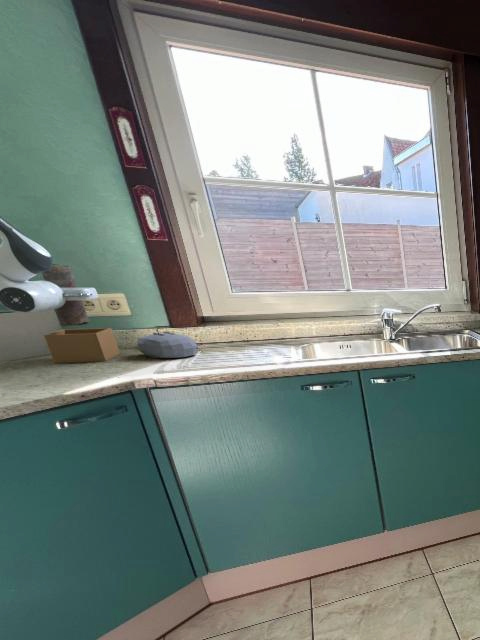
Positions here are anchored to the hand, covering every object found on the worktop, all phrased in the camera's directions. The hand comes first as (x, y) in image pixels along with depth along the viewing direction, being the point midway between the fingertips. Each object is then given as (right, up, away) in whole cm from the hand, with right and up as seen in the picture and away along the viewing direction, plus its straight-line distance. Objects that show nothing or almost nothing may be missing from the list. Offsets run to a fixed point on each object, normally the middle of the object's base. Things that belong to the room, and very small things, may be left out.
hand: (65, 292), depth 166 cm
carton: (0, -21, +8) cm, 23 cm away
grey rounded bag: (+22, -19, +17) cm, 33 cm away
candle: (0, -11, +3) cm, 11 cm away
